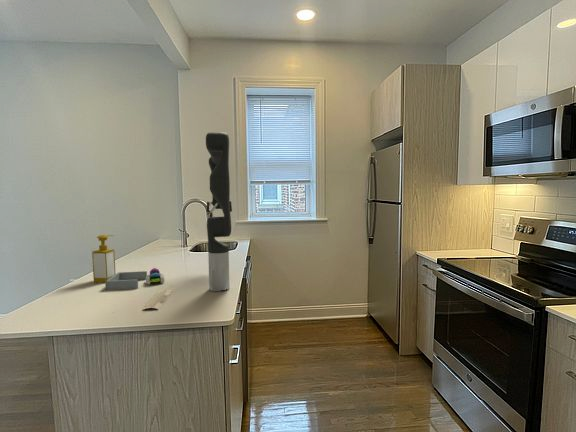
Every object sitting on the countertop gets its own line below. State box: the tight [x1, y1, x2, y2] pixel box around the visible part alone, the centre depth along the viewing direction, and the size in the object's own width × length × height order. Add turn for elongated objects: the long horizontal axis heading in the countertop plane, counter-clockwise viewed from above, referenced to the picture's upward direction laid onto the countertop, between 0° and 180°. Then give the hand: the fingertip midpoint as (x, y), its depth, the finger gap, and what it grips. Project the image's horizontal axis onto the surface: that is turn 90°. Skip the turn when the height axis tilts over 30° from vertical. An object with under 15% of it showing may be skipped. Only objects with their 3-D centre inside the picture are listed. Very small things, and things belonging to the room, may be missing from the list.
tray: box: [104, 270, 148, 291], centre depth 170 cm, size 18×14×4 cm
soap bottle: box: [91, 234, 117, 284], centre depth 179 cm, size 7×13×24 cm, turn 174°
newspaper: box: [142, 289, 172, 312], centre depth 144 cm, size 24×7×2 cm, turn 7°
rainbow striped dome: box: [145, 267, 165, 286], centre depth 172 cm, size 8×10×7 cm
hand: (219, 219), depth 201 cm, fingers open, 8 cm apart
